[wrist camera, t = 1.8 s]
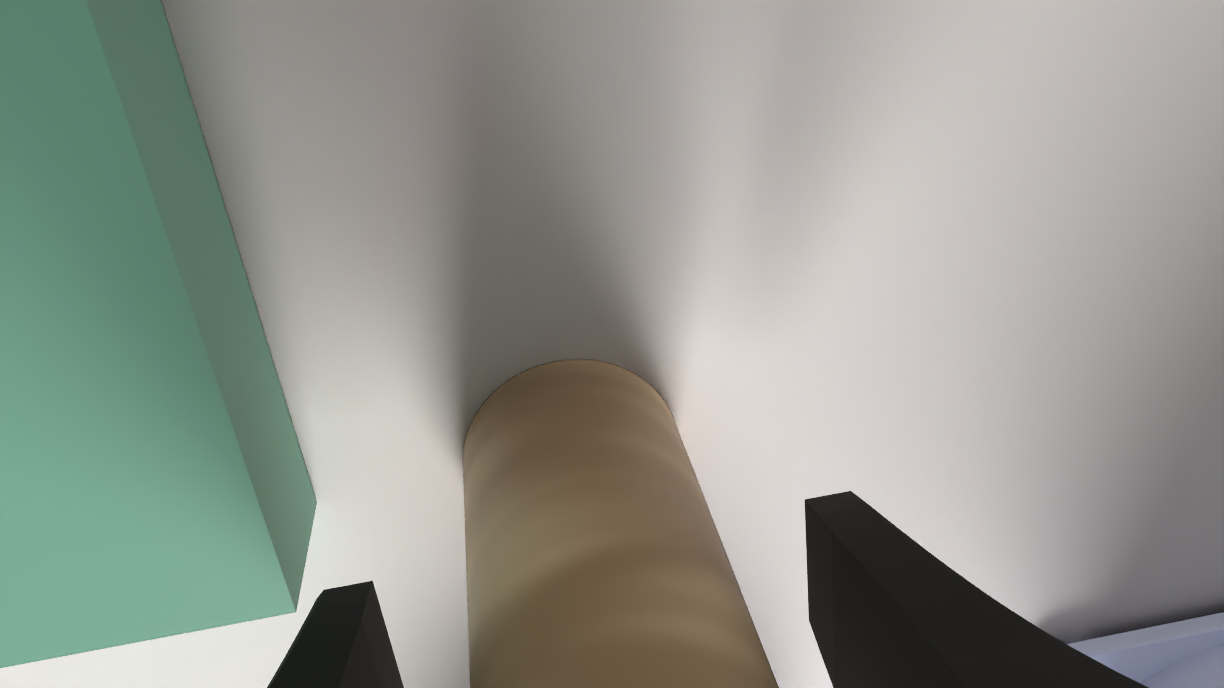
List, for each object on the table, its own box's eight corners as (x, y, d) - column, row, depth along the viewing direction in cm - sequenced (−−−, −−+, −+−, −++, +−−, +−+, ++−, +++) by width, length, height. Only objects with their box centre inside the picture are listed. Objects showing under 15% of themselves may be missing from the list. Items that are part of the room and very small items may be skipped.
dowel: (667, 342, 15) (909, 890, 7) (686, 521, 17) (901, 1132, 9) (443, 381, 15) (444, 992, 7) (483, 559, 17) (520, 1222, 9)
